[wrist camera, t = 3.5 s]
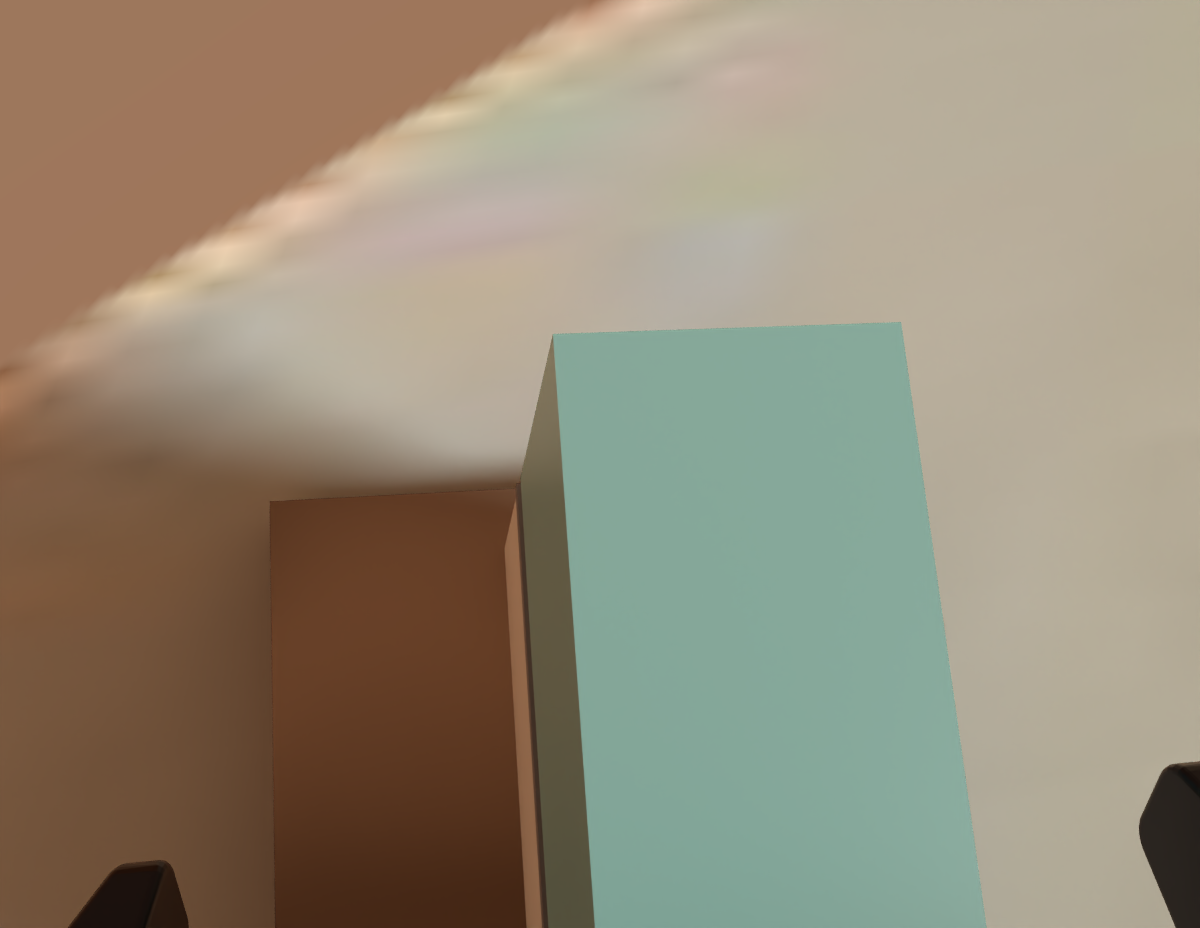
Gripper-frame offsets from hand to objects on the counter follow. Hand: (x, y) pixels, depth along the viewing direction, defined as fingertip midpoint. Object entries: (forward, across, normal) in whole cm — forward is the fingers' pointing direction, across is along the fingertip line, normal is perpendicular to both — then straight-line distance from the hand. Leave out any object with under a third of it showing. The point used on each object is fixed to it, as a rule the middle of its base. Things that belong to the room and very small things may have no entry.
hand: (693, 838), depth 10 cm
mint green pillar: (0, 0, +2) cm, 2 cm away
